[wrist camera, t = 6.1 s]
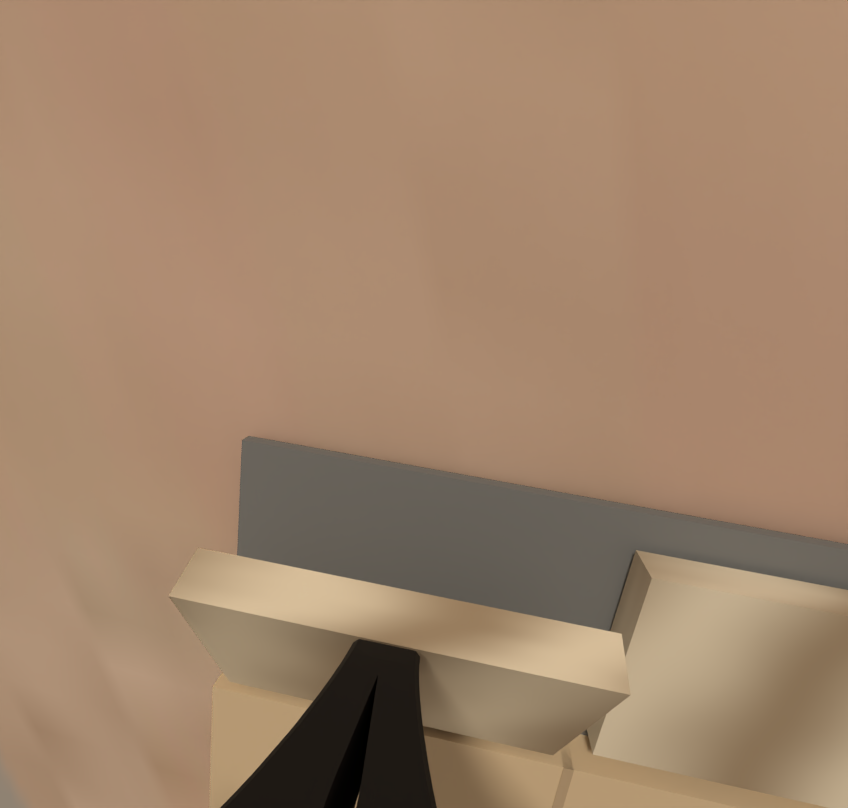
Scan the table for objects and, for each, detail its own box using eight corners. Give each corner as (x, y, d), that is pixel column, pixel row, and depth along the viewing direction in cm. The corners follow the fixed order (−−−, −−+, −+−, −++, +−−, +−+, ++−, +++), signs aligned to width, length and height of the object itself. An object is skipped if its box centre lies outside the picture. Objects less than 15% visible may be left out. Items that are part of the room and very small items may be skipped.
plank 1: (621, 633, 10) (630, 694, 9) (551, 708, 14) (552, 755, 13) (198, 547, 11) (168, 596, 10) (247, 641, 15) (229, 681, 14)
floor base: (1046, 580, 12) (1133, 624, 10) (838, 941, 15) (879, 1014, 14) (248, 436, 14) (218, 454, 12) (232, 790, 17) (207, 840, 16)
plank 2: (1036, 625, 11) (1098, 664, 10) (928, 791, 13) (971, 840, 12) (635, 550, 12) (651, 578, 11) (583, 714, 14) (592, 754, 13)
